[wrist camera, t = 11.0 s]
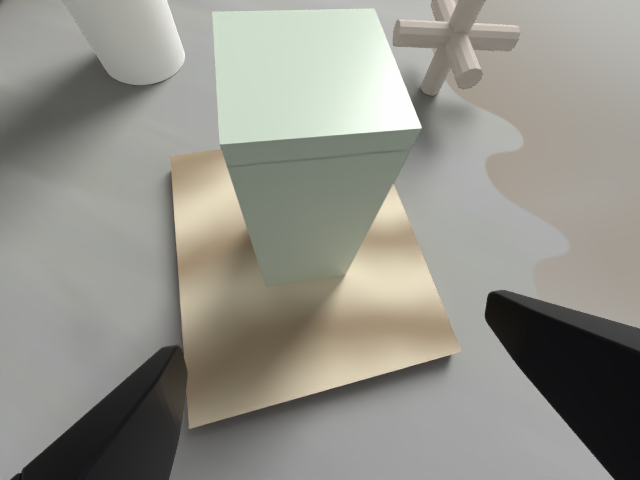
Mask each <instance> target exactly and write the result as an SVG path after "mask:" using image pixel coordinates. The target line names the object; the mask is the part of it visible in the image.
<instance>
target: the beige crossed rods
mask: <svg viewBox="0 0 640 480" xmlns="http://www.w3.org/2000/svg"><path fill="white" fill-rule="evenodd" d="M484 2H485V0H459V1H458V3H457V5H456V4H455V1H454V0H432V2H431V8H432V11H433V14H434V17H435V20H436V21H424V20H405V19H398V20H397V21H396V24H395V27H394V31H393V45H394V46H396V47H419V48H437V50H436V53H435V55H434V57H433V59H432V62H431V64H430V66H429V68H428V71H427V73H426V75H425V78H424V80H423V82H422V84H421V90H422V91H423V92H424V93H425V94H427V95H431V96H432V95H436V94H438V92H439V90H440V88H441V86H442V84H443V83H444V81H445V79H446V77H447V74H448V72H449V71H450V69H451V68H452V71H453V74H454V77H455V80H456V83H457V85H458V87H459V88H461V89H468V88H471V87H472V86H475V85H476V84H477V83H478V82H479V81H480V80H481V78H482V75H483V73H482V71H481V68H480V66H479V63H478V60H477V58H476V55H475V53H474V50H488V51H510V50H512V49H513V48H514V47H515V45H516V43H517V42H518V39H519V35H520V28H519V27H518V26H517V25H500V24H480V23H474V22H475V20H476V18H477V16H478V14H479V12H480V10H481V8H482V6H483V4H484Z"/></svg>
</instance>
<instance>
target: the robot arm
mask: <svg viewBox="0 0 640 480" xmlns="http://www.w3.org/2000/svg"><path fill="white" fill-rule="evenodd" d="M485 319H486V322H487V323H488V325H489V326H490V328H491V329H492V331H493V332H494V333H495V335H496V336H497V338H498V339H499V340H500V342H501V343H502V345H503V346H504V347H505V349H506V350H507V352H508V353H509V354H510V356H511V357H512V359H513V360H514V361H515V363H516V364H517V365H518V367H519V368H520V369H521V370H522V372H523V373H524V374H525V375H526V376H527V378H528V379H529V380H530V381H531V382H532V383H533V385H534V386H535V387H536V388H537V389H538V390H539V392H540V393H541V394H542V395H543V396H544V397H545V399H546V400H547V401H548V402H549V403H550V405H551V406H552V407H553V408H554V409H555V410H556V412H557V413H558V414H559V415H560V416H561V417H562V419H563V420H564V421H565V422H566V423H567V424H568V426H569V427H570V428H571V429H572V430H573V432H574V433H575V434H576V435H577V436H578V437H579V439H580V440H581V441H582V442H583V443H584V444H585V446H586V447H587V448H588V449H589V450H590V452H591V453H592V454H593V455H594V456H595V457H596V459H597V460H598V461H599V462H600V463H601V464H602V466H603V467H604V468H605V469H606V470H607V471H608V473H609V474H610V475H611V476H612V477H613V479H614V480H640V329H639V328H636V327H632V326H629V325H625V324H622V323H618V322H615V321H611V320H608V319H604V318H601V317H597V316H594V315H590V314H587V313H583V312H580V311H576V310H572V309H569V308H565V307H562V306H558V305H555V304H551V303H548V302H544V301H541V300H537V299H534V298H530V297H527V296H523V295H520V294H516V293H513V292H509V291H506V290H498V291H492V292H490V293H489V294H488V297H487V303H486V309H485ZM187 379H188V371H187V366H186V363H185V360H184V356H183V353H182V350H181V348H180V346H178V345H173V346H167V347H163V348H161V349H160V350H159V351H157V352H156V353H155V354H154V355H153V356H152V357H151V358H149V359H148V360H147V361H146V362H145V363H144V364H143V365H141V366H140V367H139V368H138V369H137V370H136V371H135V372H133V373H132V374H131V375H130V376H129V377H128V378H127V379H125V380H124V381H123V382H122V383H121V384H120V385H119V386H117V387H116V388H115V389H114V390H113V391H112V392H110V393H109V394H108V395H107V396H106V397H105V398H104V399H102V400H101V401H100V402H99V403H98V404H97V405H96V406H94V407H93V408H92V409H91V410H90V411H89V412H88V413H86V414H85V415H84V416H83V417H82V418H81V419H80V420H78V421H77V422H76V423H75V424H74V425H73V426H72V427H70V428H69V429H68V430H67V431H66V432H65V433H63V434H62V435H61V436H60V437H59V438H58V439H57V440H55V441H54V442H53V443H52V444H51V445H50V446H49V447H47V448H46V449H45V450H44V451H43V452H42V453H41V454H39V455H38V456H37V457H36V458H35V459H34V460H32V461H31V462H30V463H29V464H28V465H27V466H26V467H24V468H23V469H22V472H21V473H18V474H16V475H15V476H14V477H13V478H12V479H11V480H169V477H170V473H171V469H172V465H173V461H174V457H175V453H176V449H177V445H178V440H179V436H180V429H181V423H182V415H183V408H184V401H185V394H186V386H187Z"/></svg>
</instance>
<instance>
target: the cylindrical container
mask: <svg viewBox="0 0 640 480" xmlns="http://www.w3.org/2000/svg"><path fill="white" fill-rule="evenodd" d="M62 1H63V2H64V4H65V6H66V7H67V9H68V10H69V12H70V14H71V15H72V17H73V18H74V20H75V22H76V23H77V25H78V27H79V28H80V30H81V31H82V33H83V35H84V36H85V38H86V39H87V41H88V43H89V44H90V46H91V47H92V49H93V51H94V52H95V54H96V55H97V57H98V59H99V60H100V62H101V63H102V65H103V67H104V68H105V70H106V71H107V73H108V74H109V75H110V76H111V77H112V78H114V79H116V80H118V81H120V82H123V83H126V84H131V85H148V84H154V83H158V82H161V81H163V80H166V79H168V78H169V77H171V76H173V75H174V74H175V73H177V72H178V71H179V69H180V68H181V67H182V65H183V63H184V60H185V52H184V50H183V47H182V44H181V41H180V38H179V35H178V32H177V29H176V26H175V23H174V20H173V17H172V14H171V11H170V8H169V6H168V3H167V0H62Z"/></svg>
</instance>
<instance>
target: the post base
mask: <svg viewBox="0 0 640 480" xmlns="http://www.w3.org/2000/svg"><path fill="white" fill-rule="evenodd" d="M170 160H171V175H172V189H173V204H174V218H175V233H176V248H177V262H178V277H179V291H180V306H181V321H182V335H183V350H184V360H185V363H186V366H187V371H188V379H187V386H186V393H187V408H188V423H189V429H191V428H195V427H198V426H202V425H205V424H209V423H212V422H216V421H219V420H223V419H226V418H230V417H233V416H237V415H240V414H244V413H247V412H251V411H254V410H258V409H261V408H265V407H269V406H272V405H276V404H279V403H283V402H286V401H290V400H293V399H297V398H300V397H304V396H307V395H311V394H314V393H318V392H321V391H325V390H328V389H332V388H335V387H339V386H343V385H346V384H350V383H353V382H357V381H360V380H364V379H367V378H371V377H374V376H378V375H381V374H385V373H388V372H392V371H395V370H399V369H402V368H406V367H409V366H413V365H417V364H420V363H424V362H427V361H431V360H434V359H438V358H441V357H445V356H448V355H452V354H455V353H459V352H461V349H460V347H459V344H458V342H457V339H456V337H455V334H454V332H453V329H452V327H451V324H450V322H449V319H448V317H447V314H446V312H445V310H444V307H443V305H442V302H441V300H440V297H439V295H438V292H437V290H436V287H435V285H434V282H433V280H432V277H431V275H430V272H429V270H428V267H427V265H426V262H425V260H424V258H423V255H422V253H421V250H420V248H419V245H418V243H417V240H416V238H415V235H414V233H413V230H412V228H411V225H410V223H409V220H408V218H407V215H406V213H405V210H404V208H403V206H402V203H401V201H400V198H399V196H398V193H397V191H396V188H395V186H394V183H393V185H392V187H391V189H390V191H389V193H388V195H387V197H386V198H385V200H384V202H383V204H382V206H381V208H380V210H379V212H378V214H377V216H376V218H375V220H374V222H373V223H372V225H371V227H370V229H369V231H368V233H367V235H366V237H365V239H364V241H363V243H362V245H361V247H360V248H359V250H358V252H357V254H356V256H355V258H354V260H353V262H352V264H351V266H350V268H349V270H348V271H347V273H346V275H343V276H336V277H329V278H322V279H315V280H309V281H302V282H295V283H288V284H282V285H275V286H268V287H266V285H265V282H264V279H263V276H262V273H261V270H260V267H259V264H258V261H257V258H256V255H255V251H254V248H253V245H252V242H251V239H250V236H249V233H248V230H247V227H246V224H245V221H244V218H243V215H242V211H241V208H240V205H239V202H238V199H237V196H236V193H235V190H234V187H233V184H232V181H231V178H230V174H229V171H228V168H227V165H226V162H225V159H224V156H223V153H222V150H214V151H206V152H199V153H192V154H184V155H177V156H170Z"/></svg>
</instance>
